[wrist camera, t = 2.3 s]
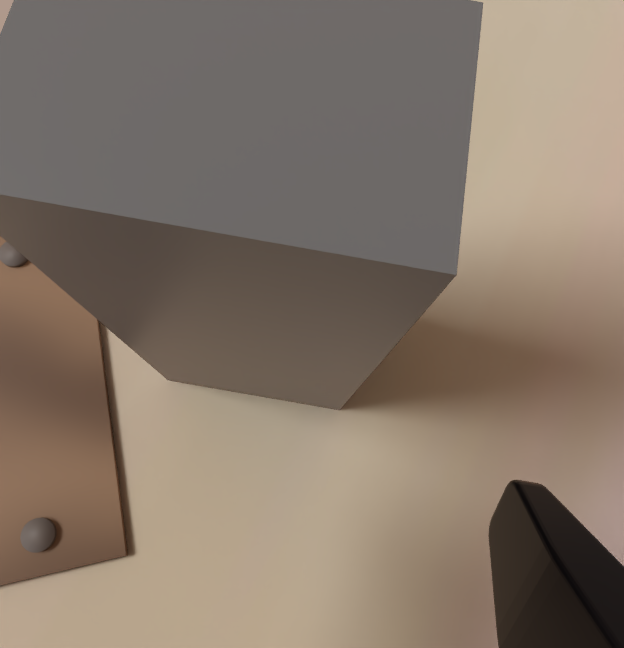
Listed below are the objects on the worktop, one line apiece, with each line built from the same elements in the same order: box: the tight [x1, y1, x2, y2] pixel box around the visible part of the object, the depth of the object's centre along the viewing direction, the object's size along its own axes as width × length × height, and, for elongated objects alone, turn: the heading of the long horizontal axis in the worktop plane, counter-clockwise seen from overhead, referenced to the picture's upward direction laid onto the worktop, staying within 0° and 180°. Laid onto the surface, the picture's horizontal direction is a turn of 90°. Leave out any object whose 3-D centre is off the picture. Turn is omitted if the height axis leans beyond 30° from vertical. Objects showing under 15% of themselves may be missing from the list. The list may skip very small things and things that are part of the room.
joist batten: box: [0, 236, 128, 586], centre depth 18 cm, size 12×5×1 cm, turn 13°
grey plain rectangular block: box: [0, 0, 483, 410], centre depth 13 cm, size 4×6×13 cm
